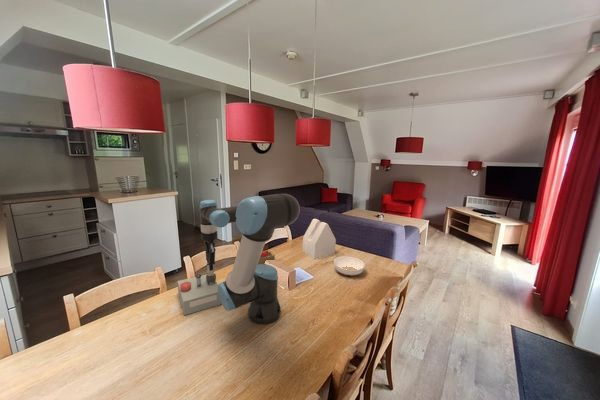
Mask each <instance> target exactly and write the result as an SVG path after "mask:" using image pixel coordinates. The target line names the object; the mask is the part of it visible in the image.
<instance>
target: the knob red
mask: <svg viewBox="0 0 600 400" xmlns="http://www.w3.org/2000/svg"><path fill="white" fill-rule="evenodd" d="M189 290H191V283H190V282H184V283H182V284H180V291H182V292H187V291H189Z"/></svg>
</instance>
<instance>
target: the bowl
mask: <svg viewBox="0 0 600 400" xmlns="http://www.w3.org/2000/svg"><path fill="white" fill-rule="evenodd" d="M333 265H334V268H335V270H336V271H337V272H338V273H341V274H342V275H343V276H347V275H350V276H349V277H353V276H358V275H360V274H361V273H363V272H364V270H365V265H366V264H365V263H364V261H362V260H361V259H359V258H356V257H353V256H344V255H343V256H338V257H336V258H335V259H334V260H333ZM346 266H347V267H353V268H355V269H357V270H347V269H343V268H342V267H346Z"/></svg>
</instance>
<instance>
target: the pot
mask: <svg viewBox="0 0 600 400" xmlns="http://www.w3.org/2000/svg"><path fill="white" fill-rule="evenodd" d="M201 276H202V274H201V273H197V274H196V275H195V277H196V281H197V287H200V286H201Z"/></svg>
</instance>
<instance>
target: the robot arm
mask: <svg viewBox="0 0 600 400" xmlns="http://www.w3.org/2000/svg"><path fill="white" fill-rule="evenodd" d="M299 203H300V202H298V200H297V198H295V197H294V196H293V195H291V194H288V193H277V194H270V195H269V194H268V195H260V196H259V195H254V196H251V197H245V198H244V199H242V200H241V201H240V202H239V203H238V205H236V206H230V207H229V206H228V207H222V208H221V207H220V208H218V207H217V201H216V200H215V199H204V200H201V201H200V203H199V214H200V215H199V216H200V217H199V218H200V238H201V241H203V243H204V249H205V260H206V266H207V274H208V276H212V275H214V274H215V270H214V269H215V263H216V262H215V261H216V248H215V246H216V245H215V244H216V243H215V242H214V241H216V240H217V239H218V228H225V227H226V226H227V225H229V224H233V223H236V227H237V229H238V231H239V232H240V233H241V239H240V242H239V246H238V249H237V252H236V256H235V260H234V264H233V267H232V270H231V271H230V272H228V274H227V275H226V278H225V281H221V282H220V283H217V284H218V294H219V298H220V301H221V303H222V304H221V305H222V307H223V308H224V309H225V310H226V311H228V312H230V311H233V310H236V309H238V308H241V307H243V306H245V305H247V304H249V306H248V310H247V316H248V318H249V320H250V321H251V322H252V323H255V324H257V325H269V324H271V323H273V322H276V321H277V320H278V319H279V318H280V316H281V314H282V313H281V311H282V310H281V309H282V308H281V305H280V302H279V299H278V280H279V276H278V270H277V269H276V267H274V266H272V265H270V264H259V265H258V262H259V259H260V256H261V253H262V251H264V247H265V244H266V242H269V241H270V240H271V239H272V238H273V235H274V232H275V230H276V229H279V228H283V227H286V226H290V225H292V224H293V223H295V222H296V220H298V218H299V216H300V212H301V209H300V208H301V207H300V204H299Z"/></svg>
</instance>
